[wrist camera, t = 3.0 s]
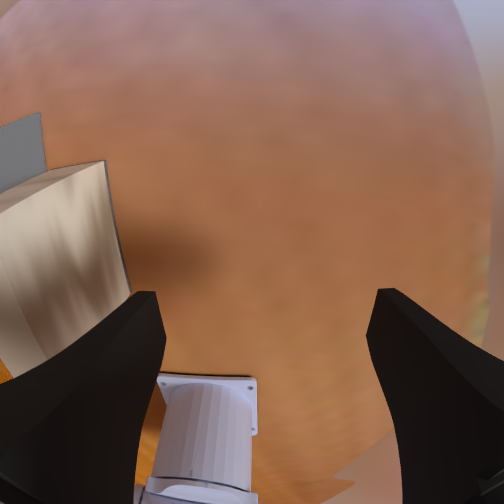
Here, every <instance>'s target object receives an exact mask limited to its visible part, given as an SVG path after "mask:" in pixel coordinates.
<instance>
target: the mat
mask: <svg viewBox="0 0 504 504" xmlns="http://www.w3.org/2000/svg"><path fill="white" fill-rule="evenodd" d="M45 172H47V169H46V162H45V155H44V147H43V138H42V128H41V116H40V112H38V113H35V114H32V115H30V116H27V117H25V118H22V119H19V120H17V121H15V122H12V123H10V124H7V125H5V126H3V127H0V194H1V193H3V192H5V191H7V190H9V189H11V188H13V187H15V186H17V185H19V184H21V183H23V182H25V181H27V180H30V179H32V178H34V177H36V176H38V175H41V174H43V173H45Z"/></svg>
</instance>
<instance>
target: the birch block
mask: <svg viewBox="0 0 504 504" xmlns="http://www.w3.org/2000/svg"><path fill="white" fill-rule="evenodd" d="M130 293H131V287H130V284H129V280H128V276H127V272H126V268H125V264H124V259H123V255H122V251H121V246H120V241H119V237H118V232H117V227H116V222H115V216H114V211H113V205H112V199H111V193H110V187H109V180H108V173H107V165H106V160H101V161H95V162H89V163H83V164H77V165H72V166H66V167H61V168H56V169H52V170H50V171H47V172H45V173H43V174H41V175H38V176H36V177H34V178H32V179H30V180H27V181H25V182H23V183H21V184H19V185H17V186H15V187H13V188H11V189H9V190H7V191H5V192H3V193H1V194H0V358H1V360H2V361H3V363H4V364H5V366H6V367H7V369H8V370H9V372H10V373H11V375H12V376H13V378H15V377H17V376H19V375H21V374H23V373H25V372H27V371H29V370H31V369H33V368H34V367H36V366H38V365H40V364H42V363H43V362H45V361H47V360H48V359H50V358H52V357H53V356H55V355H56V354H58V353H59V352H61V351H62V350H64V349H65V348H67V347H68V346H69V345H71V344H72V343H74V342H75V341H76V340H77V339H79V338H80V337H81V336H83V335H84V334H85V333H87V332H88V331H89V330H90V329H92V328H93V327H94V326H96V325H97V324H98V323H99V322H100V321H102V320H103V319H104V318H105V317H106V316H108V315H109V314H110V313H111V312H113V311H114V310H115V309H116V308H117V307H119V306H120V305H121V304H122V303H123V302H125V301H126V300H127V298H128V296H129V295H130Z"/></svg>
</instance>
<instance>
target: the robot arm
mask: <svg viewBox="0 0 504 504" xmlns="http://www.w3.org/2000/svg"><path fill="white" fill-rule="evenodd" d="M366 338H367V343H368V347H369V352H370V356H371V360H372V363H373V366H374V368H375V371H376V374H377V377H378V379H379V382H380V385H381V387H382V390H383V393H384V396H385V398H386V401H387V404H388V407H389V410H390V413H391V416H392V420H393V423H394V428H395V433H396V438H397V444H398V450H399V457H400V464H401V476H402V490H403V491H402V492H403V504H504V361H502V360H500V359H498V358H497V357H495V356H493V355H491V354H489V353H487V352H486V351H484V350H482V349H481V348H479V347H477V346H476V345H474V344H472V343H471V342H469V341H468V340H466V339H465V338H463V337H462V336H460V335H459V334H457V333H456V332H454V331H453V330H452V329H450V328H449V327H447V326H446V325H445V324H443V323H442V322H441V321H439V320H438V319H437V318H435V317H434V316H433V315H431V314H430V313H429V312H427V311H426V310H425V309H423V308H422V307H421V306H419V305H418V304H417V303H415V302H414V301H413V300H411V299H410V298H409V297H407V296H406V295H404V294H403V293H401V292H400V291H398V290H397V289H395V288H385V289H378V291H377V296H376V300H375V304H374V308H373V311H372V315H371V319H370V323H369V326H368V330H367V333H366ZM166 339H167V338H166V334H165V330H164V326H163V322H162V318H161V314H160V310H159V306H158V301H157V297H156V293H155V291H138V292H136V293H135V294H133V295H132V296H131V297H130V298H128V299H127V300H126V301H125V302H123V303H122V304H121V305H120V306H119V307H117V308H116V309H115V310H114V311H113V312H111V313H110V314H109V315H108V316H106V317H105V318H104V319H103V320H102V321H100V322H99V323H98V324H97V325H96V326H94V327H93V328H92V329H90V330H89V331H88V332H87V333H85V334H84V335H83V336H81V337H80V338H79V339H77V340H76V341H75V342H74V343H72V344H71V345H69V346H68V347H67V348H65V349H64V350H62V351H61V352H59V353H58V354H56V355H55V356H53V357H52V358H50V359H48V360H47V361H45V362H43V363H42V364H40V365H38V366H36V367H34V368H33V369H31V370H29V371H27V372H25V373H23V374H21V375H19V376H17V377H15V378H13V379H11V380H9V381H6V382H4V383H2V384H0V504H262V503H258V494H257V493H251V448H252V436H254V435H256V434H257V381H256V379H255V378H252V377H214V376H193V375H177V374H165V373H159V371H160V368H161V365H162V360H163V355H164V350H165V345H166ZM156 380H157V383H158V386H159V388H160V391H161V393H162V395H163V398H164V400H165V403H166V405H167V408H166V412H165V416H164V420H163V425H162V429H161V433H160V438H159V442H158V447H157V451H156V456H155V460H154V465H153V470H152V475H151V476H148V477H147V481H146V486H145V485H141V484H136V485H135V486H134V483H135V471H136V463H137V455H138V448H139V442H140V436H141V430H142V426H143V422H144V418H145V415H146V411H147V408H148V405H149V402H150V399H151V396H152V393H153V390H154V387H155V384H156Z"/></svg>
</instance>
